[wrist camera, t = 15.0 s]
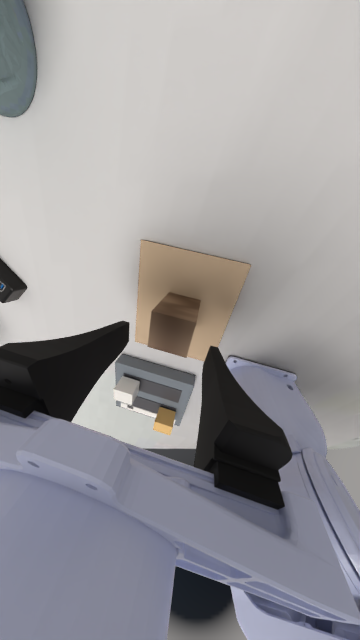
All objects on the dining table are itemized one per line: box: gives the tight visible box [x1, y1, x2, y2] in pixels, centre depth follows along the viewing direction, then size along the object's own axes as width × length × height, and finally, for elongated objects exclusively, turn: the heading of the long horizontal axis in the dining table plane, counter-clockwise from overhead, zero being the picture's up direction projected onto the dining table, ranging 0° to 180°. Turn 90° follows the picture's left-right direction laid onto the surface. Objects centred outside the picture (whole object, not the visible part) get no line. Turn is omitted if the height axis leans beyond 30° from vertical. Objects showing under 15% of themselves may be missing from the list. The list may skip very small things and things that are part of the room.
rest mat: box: [135, 240, 251, 361], centre depth 19 cm, size 12×14×1 cm
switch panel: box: [115, 354, 195, 426], centre depth 26 cm, size 13×12×2 cm
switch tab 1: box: [114, 376, 140, 405], centre depth 23 cm, size 3×3×2 cm
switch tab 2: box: [153, 407, 176, 435], centre depth 25 cm, size 3×3×2 cm
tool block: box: [148, 292, 201, 358], centre depth 16 cm, size 4×4×6 cm
